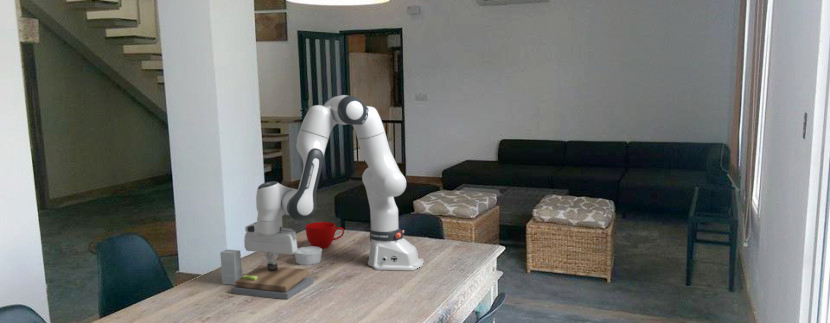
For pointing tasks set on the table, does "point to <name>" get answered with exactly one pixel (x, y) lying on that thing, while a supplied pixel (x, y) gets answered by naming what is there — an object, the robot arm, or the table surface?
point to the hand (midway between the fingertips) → (271, 264)
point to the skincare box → (231, 266)
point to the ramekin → (308, 255)
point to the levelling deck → (272, 278)
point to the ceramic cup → (321, 234)
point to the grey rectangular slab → (274, 294)
